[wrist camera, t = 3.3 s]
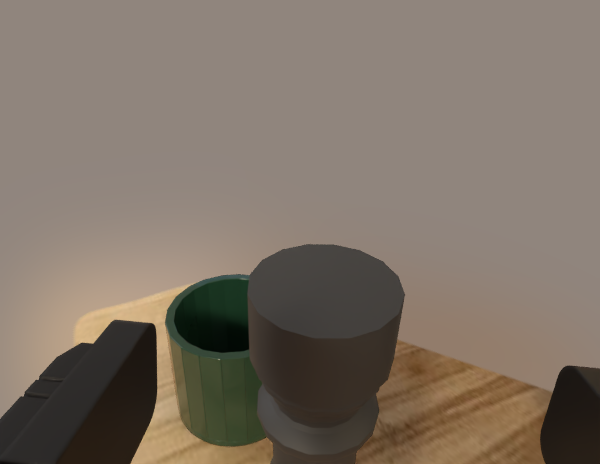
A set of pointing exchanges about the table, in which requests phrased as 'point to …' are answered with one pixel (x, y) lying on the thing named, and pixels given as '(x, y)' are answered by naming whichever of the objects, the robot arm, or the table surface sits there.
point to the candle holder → (321, 349)
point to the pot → (214, 361)
